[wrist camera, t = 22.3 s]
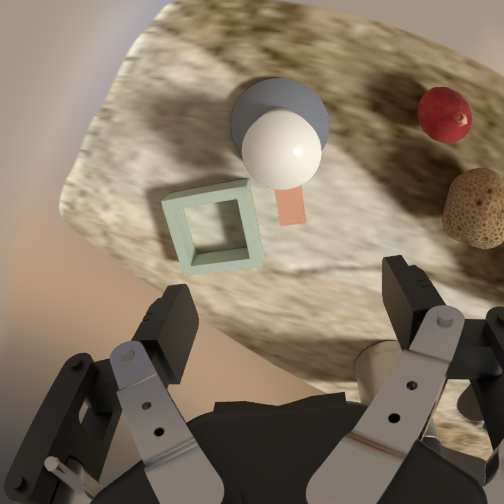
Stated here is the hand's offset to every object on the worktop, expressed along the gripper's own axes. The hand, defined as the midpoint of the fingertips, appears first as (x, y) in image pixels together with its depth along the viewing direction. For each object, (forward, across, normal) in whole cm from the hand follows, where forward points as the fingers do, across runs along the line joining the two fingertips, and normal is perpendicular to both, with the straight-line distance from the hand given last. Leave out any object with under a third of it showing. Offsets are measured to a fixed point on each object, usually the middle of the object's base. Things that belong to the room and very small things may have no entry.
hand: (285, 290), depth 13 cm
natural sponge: (+24, -21, +6) cm, 33 cm away
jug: (+23, 0, -2) cm, 23 cm away
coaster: (+24, 0, -4) cm, 24 cm away
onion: (+24, -18, -4) cm, 30 cm away
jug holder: (+24, +9, +6) cm, 26 cm away
